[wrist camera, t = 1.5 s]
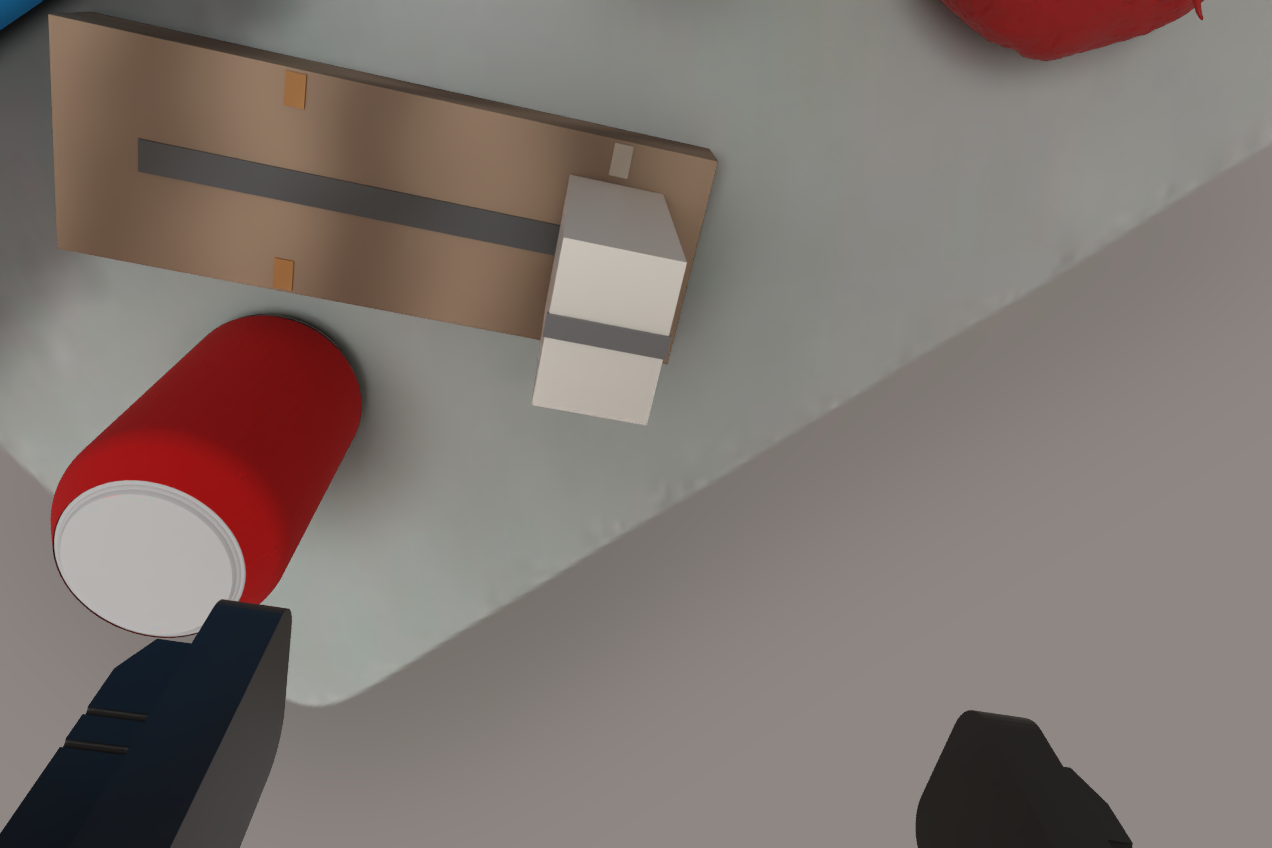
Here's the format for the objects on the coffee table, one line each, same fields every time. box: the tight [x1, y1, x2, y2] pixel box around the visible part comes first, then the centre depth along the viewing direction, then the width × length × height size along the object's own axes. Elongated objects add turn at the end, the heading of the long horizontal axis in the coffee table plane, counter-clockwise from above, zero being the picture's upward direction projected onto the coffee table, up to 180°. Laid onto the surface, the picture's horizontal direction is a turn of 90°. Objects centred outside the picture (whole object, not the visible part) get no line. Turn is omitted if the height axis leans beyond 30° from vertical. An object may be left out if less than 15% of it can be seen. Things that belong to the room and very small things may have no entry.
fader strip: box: [48, 12, 718, 364], centre depth 31 cm, size 20×7×3 cm, turn 78°
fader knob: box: [532, 175, 687, 426], centre depth 27 cm, size 3×4×8 cm
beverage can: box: [51, 314, 361, 638], centre depth 29 cm, size 6×6×12 cm
